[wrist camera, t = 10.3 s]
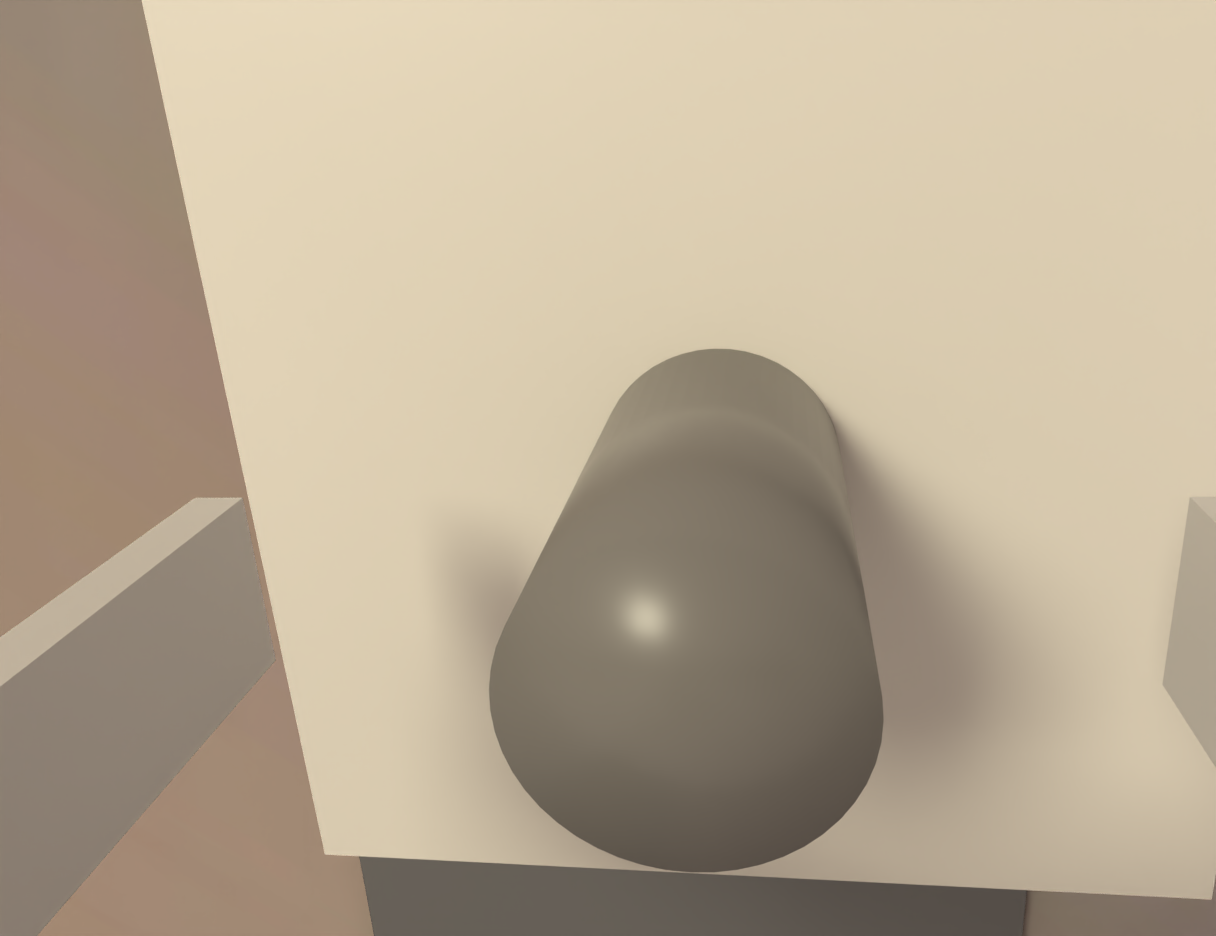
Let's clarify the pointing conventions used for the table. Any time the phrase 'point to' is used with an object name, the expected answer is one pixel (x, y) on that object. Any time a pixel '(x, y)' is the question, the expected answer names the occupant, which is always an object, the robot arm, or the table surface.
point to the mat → (666, 903)
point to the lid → (722, 422)
